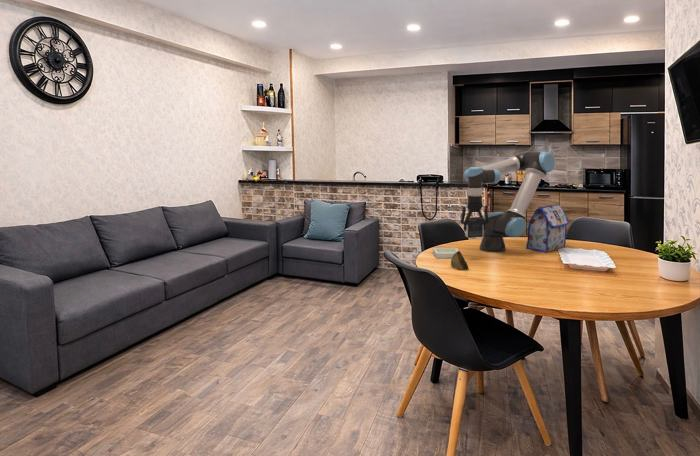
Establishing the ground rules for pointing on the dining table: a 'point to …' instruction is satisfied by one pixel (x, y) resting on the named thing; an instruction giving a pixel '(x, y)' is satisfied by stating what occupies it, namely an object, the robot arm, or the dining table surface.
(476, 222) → the box
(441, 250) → the tray
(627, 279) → the dining table surface
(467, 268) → the rock
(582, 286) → the dining table surface
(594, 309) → the dining table surface
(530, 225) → the lunch bag
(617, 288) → the dining table surface
